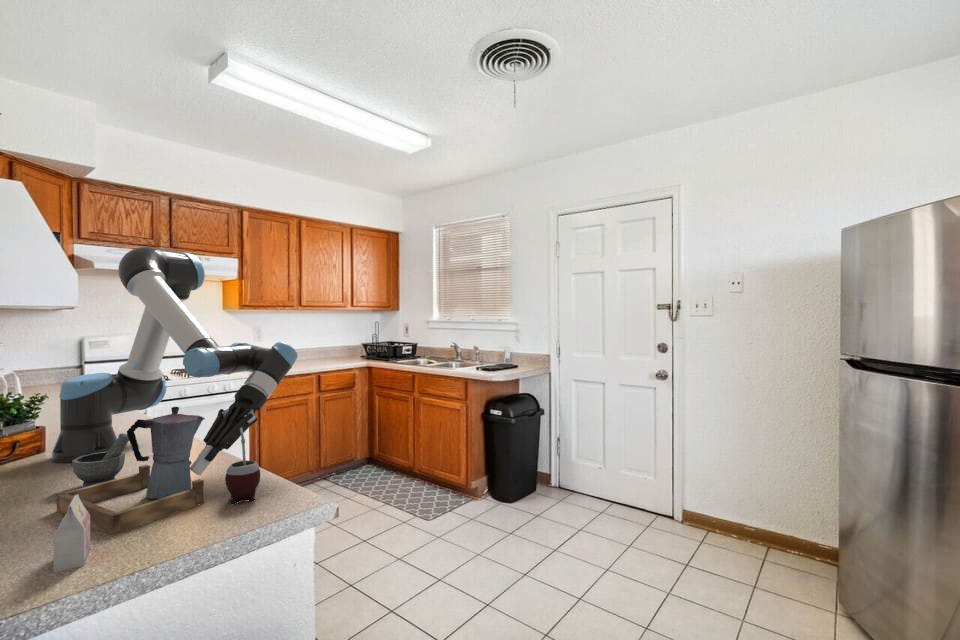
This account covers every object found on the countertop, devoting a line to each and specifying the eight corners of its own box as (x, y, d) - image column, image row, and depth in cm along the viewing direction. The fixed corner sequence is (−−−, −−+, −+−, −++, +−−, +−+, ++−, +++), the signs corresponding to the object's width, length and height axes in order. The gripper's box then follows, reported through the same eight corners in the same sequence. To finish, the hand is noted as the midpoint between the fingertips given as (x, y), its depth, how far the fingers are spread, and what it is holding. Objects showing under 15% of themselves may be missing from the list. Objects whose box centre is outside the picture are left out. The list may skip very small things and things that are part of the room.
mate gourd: (243, 507, 101) (243, 437, 101) (214, 502, 103) (214, 434, 103) (268, 494, 108) (268, 429, 108) (240, 490, 110) (241, 427, 110)
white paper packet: (53, 572, 75) (53, 510, 75) (62, 554, 81) (62, 496, 81) (83, 565, 77) (83, 505, 77) (89, 548, 83) (90, 492, 83)
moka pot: (213, 489, 111) (213, 404, 111) (136, 510, 99) (136, 415, 99) (194, 480, 117) (194, 400, 117) (119, 500, 104) (119, 410, 104)
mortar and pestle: (69, 495, 107) (69, 443, 107) (74, 483, 114) (75, 434, 114) (131, 485, 113) (131, 436, 113) (132, 475, 121) (132, 428, 121)
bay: (146, 485, 114) (146, 464, 114) (203, 503, 103) (203, 480, 103) (56, 511, 98) (56, 487, 98) (113, 535, 88) (113, 508, 88)
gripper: (280, 402, 126) (222, 484, 111) (248, 398, 132) (189, 475, 117) (263, 385, 121) (200, 468, 107) (230, 381, 127) (166, 460, 112)
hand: (194, 472), depth 112 cm, fingers closed
